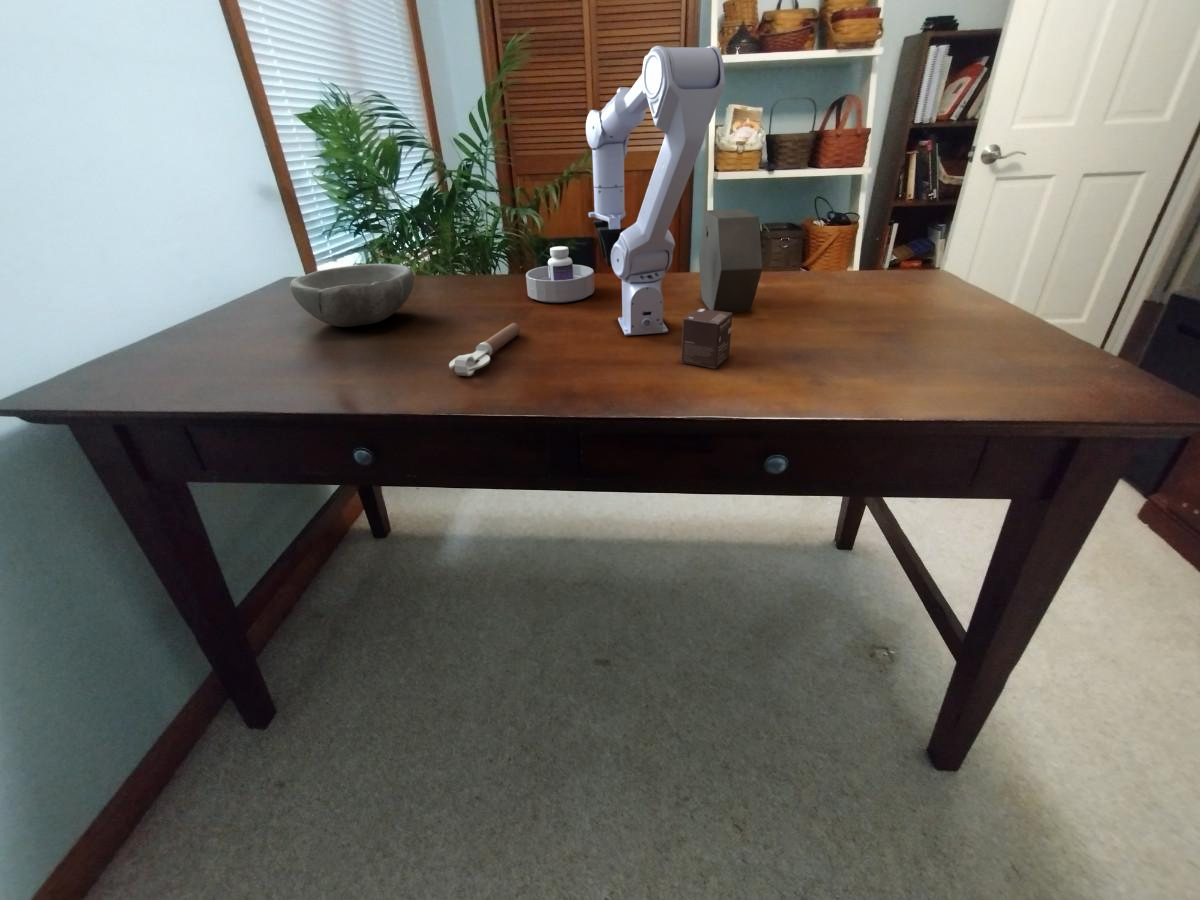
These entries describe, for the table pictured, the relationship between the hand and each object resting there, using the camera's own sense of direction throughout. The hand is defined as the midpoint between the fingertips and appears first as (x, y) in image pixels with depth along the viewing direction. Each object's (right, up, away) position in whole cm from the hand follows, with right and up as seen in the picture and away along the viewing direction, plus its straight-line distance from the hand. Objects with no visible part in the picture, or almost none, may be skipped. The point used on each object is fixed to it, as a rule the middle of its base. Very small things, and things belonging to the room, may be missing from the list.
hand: (610, 261), depth 108 cm
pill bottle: (-11, -2, +14) cm, 18 cm away
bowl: (-51, -11, +4) cm, 52 cm away
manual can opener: (-21, -21, -15) cm, 34 cm away
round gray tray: (-11, -2, +15) cm, 19 cm away
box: (+15, -23, -21) cm, 34 cm away
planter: (+24, -8, +4) cm, 25 cm away
